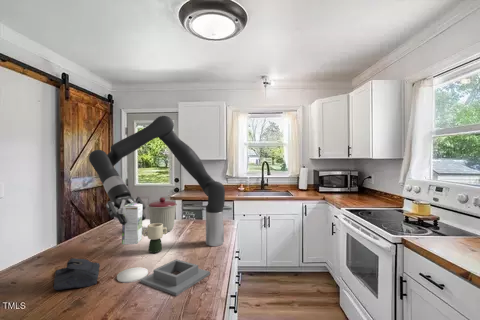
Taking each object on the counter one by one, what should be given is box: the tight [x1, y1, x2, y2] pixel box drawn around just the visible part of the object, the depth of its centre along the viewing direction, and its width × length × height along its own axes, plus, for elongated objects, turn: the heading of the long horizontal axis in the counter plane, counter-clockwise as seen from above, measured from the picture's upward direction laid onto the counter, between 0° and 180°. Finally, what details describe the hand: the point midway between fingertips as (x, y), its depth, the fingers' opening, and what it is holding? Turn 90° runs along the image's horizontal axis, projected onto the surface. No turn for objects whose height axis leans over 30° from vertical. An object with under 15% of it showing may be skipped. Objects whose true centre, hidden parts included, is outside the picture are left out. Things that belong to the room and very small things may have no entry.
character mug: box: [142, 223, 168, 253], centre depth 122 cm, size 11×7×13 cm, turn 113°
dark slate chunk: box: [53, 257, 101, 291], centre depth 95 cm, size 15×22×5 cm
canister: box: [146, 196, 178, 233], centre depth 158 cm, size 18×18×21 cm
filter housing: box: [139, 258, 211, 297], centre depth 94 cm, size 18×18×4 cm
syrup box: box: [121, 203, 144, 245], centre depth 96 cm, size 6×6×14 cm
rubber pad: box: [116, 266, 149, 284], centre depth 96 cm, size 11×11×1 cm
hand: (135, 221), depth 96 cm, fingers closed on syrup box, 8 cm apart
